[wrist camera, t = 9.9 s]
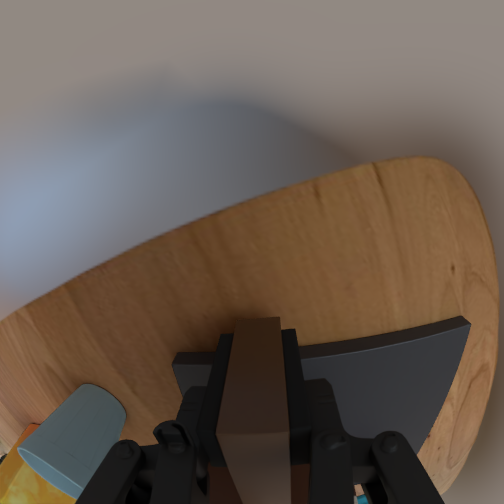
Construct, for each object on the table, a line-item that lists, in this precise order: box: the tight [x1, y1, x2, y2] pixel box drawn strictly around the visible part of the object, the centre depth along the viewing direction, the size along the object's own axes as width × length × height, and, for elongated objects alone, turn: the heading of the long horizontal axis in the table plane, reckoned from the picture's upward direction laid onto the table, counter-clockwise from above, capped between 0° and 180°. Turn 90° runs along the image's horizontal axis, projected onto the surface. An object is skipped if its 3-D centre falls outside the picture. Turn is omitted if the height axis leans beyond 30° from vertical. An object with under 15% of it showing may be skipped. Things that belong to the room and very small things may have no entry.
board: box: [172, 316, 471, 485], centre depth 19 cm, size 22×22×2 cm
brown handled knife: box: [215, 317, 291, 504], centre depth 13 cm, size 18×2×8 cm, turn 6°
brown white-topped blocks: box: [207, 462, 358, 504], centre depth 16 cm, size 11×11×8 cm
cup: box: [17, 384, 126, 499], centre depth 15 cm, size 8×8×10 cm
